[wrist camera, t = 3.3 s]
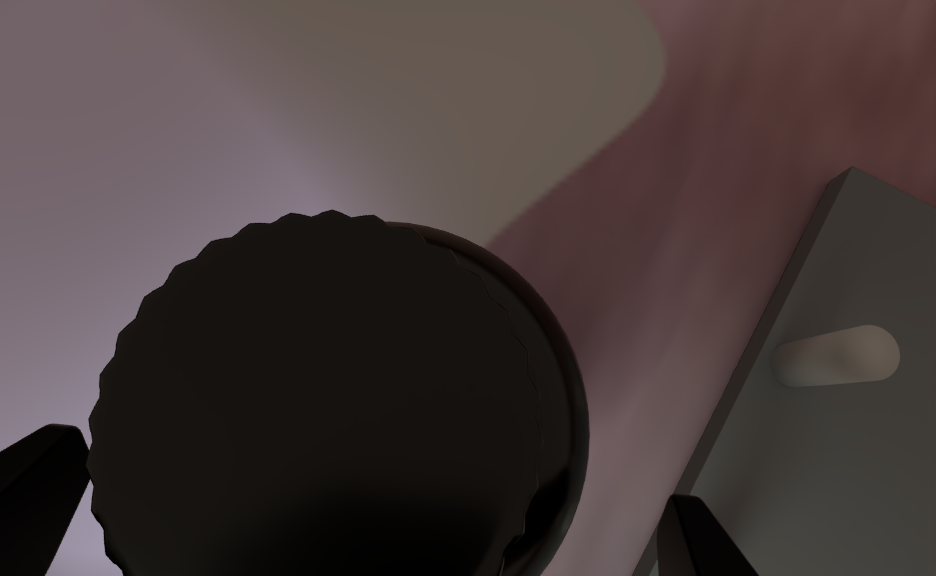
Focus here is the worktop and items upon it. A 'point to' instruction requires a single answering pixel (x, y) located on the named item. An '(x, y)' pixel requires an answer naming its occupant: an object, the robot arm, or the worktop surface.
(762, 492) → the pin tray
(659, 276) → the worktop surface
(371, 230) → the supplement bottle
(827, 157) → the worktop surface
